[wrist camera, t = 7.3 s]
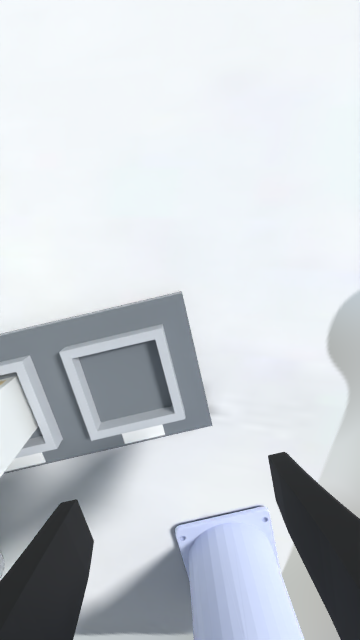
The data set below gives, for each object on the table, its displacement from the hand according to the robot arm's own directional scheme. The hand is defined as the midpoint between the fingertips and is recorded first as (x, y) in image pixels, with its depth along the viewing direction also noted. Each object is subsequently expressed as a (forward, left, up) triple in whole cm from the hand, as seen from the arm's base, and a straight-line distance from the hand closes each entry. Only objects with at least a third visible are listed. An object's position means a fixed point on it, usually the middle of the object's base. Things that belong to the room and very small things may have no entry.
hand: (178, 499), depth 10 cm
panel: (+1, +8, -10) cm, 12 cm away
